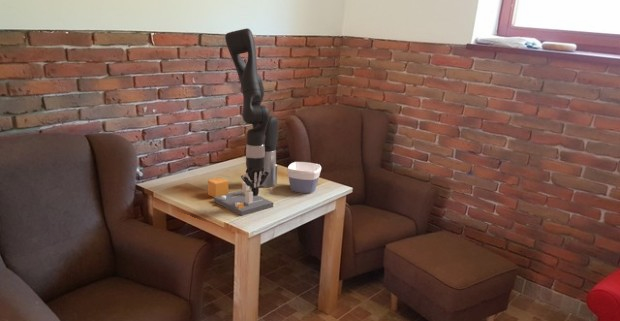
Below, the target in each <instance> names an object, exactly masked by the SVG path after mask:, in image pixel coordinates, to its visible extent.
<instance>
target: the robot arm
mask: <svg viewBox="0 0 620 321" xmlns="http://www.w3.org/2000/svg"><path fill="white" fill-rule="evenodd" d="M224 37H225V44H226V47H227V49H228V53H229V55H230V57H231V59H232V62H233V65H234V67H235V70H236V72H237V73H236V74H237V76H238V79H239V83H240V87H241V91H242V96H243V102H242V103H243V105H242V119H243V121H244V123H246V124H248V125H252V128H250V129H249V130H247V132H246V146H245V147H246V148H245V167H246V170H245V174H244V175H241V176H240V178H241V179H242V182H245V183H246V185H247V186H250V191H252V192H253V196H257V195H258V196H259V190H260V188H270V187H274V186H276V185H277V184H278V165H277V163H276V162H277V146H278V138H279V120H278V118H277V117H276V116H273V115H272V116H271V115H270V110H269V108H268V107H267V106H266V105H262V101H263V100H264V99H263V98H264V96H265V88H264V84H263V80H262V77H261V76H260V74H259V73H258V64H257V63H258V62H257V54H256V50H257V49H256V43H255V38H254V34H253V32H252V30H251V29H249V28H248V27H247V28H243V29H237V30H234V31H230V32H226V34H225V36H224ZM242 54H247V61H246V62H245V61H244V59H243V58H242V57H241V55H242Z"/></svg>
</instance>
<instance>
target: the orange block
mask: <svg viewBox="0 0 620 321" xmlns="http://www.w3.org/2000/svg"><path fill="white" fill-rule="evenodd" d="M225 194H229V180H226V179H224V178H222V177H216V178H211V179H208V180H207V195H208V196H210V197H212V198H214V197H217V196H221V195H225Z"/></svg>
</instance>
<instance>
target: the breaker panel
mask: <svg viewBox="0 0 620 321" xmlns="http://www.w3.org/2000/svg"><path fill="white" fill-rule="evenodd" d="M241 192H242V189H241V190H239V191H234V192H228V194H225V195H221V196H217V197H213V202H214V203H216V204H217V205H220V206H221V207H223V208H226V209H228V210H229V211H231V212H233V213H235V214H237V215H239V216H242V217H243V216H244V217H245V216H247V215H249V214H253V213H256V212H260V211H264V210H268V209H271V208H273V207H274V202H273V201H271V200H269V199H266V198H264V197H263V196H259V194H258V195H257V196H253V202H254V204H252V205H247V204H244V201H245V195H243V194H241Z"/></svg>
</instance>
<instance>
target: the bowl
mask: <svg viewBox="0 0 620 321" xmlns="http://www.w3.org/2000/svg"><path fill="white" fill-rule="evenodd" d="M321 171H322V166H321V165H320V163H319V164H318V163H313V162H307V161H306V162H305V161H294V162H291V163H290V164H289V165H288V167H287V169H286V172H287V176H288V182H289V186H290V190H291V191H292V192H296V193H303V194H311V193H314V192H315V191H316V189H317V185H318V182H319V178H320V175H321Z"/></svg>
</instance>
